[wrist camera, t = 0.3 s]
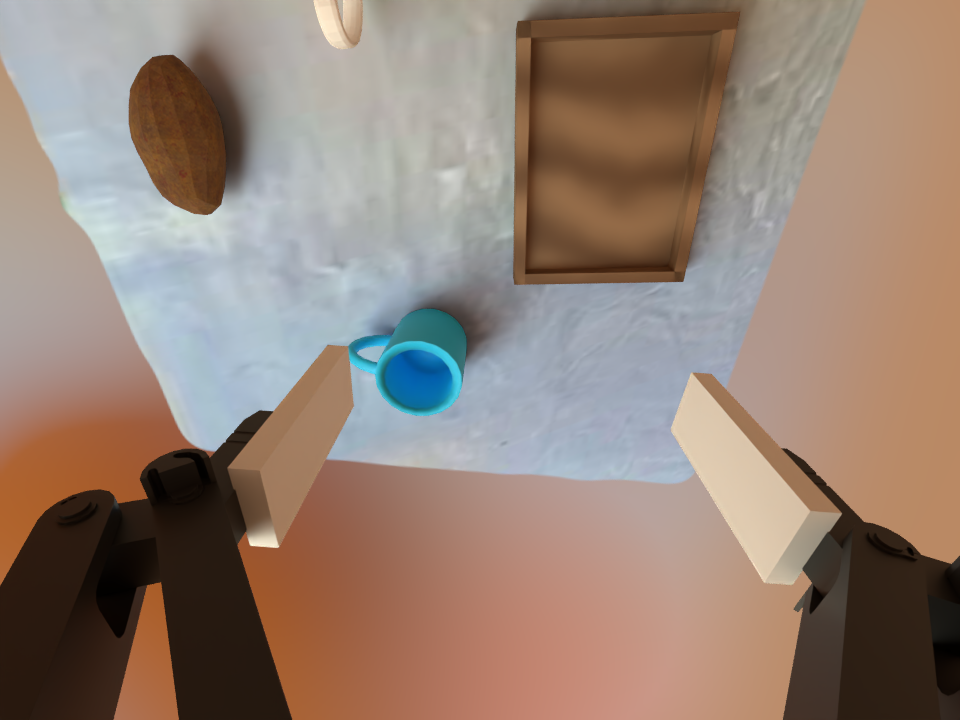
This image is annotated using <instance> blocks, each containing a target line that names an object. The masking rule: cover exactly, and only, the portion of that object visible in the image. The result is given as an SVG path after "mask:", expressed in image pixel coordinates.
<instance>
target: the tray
mask: <svg viewBox="0 0 960 720" xmlns="http://www.w3.org/2000/svg"><path fill="white" fill-rule="evenodd" d="M739 15H740V12H722V13H699V14H675V15H651V16H627V17H604V18H580V19H556V20H532V21H518V23H517V28H516V87H515V174H514V262H513V278H514V285H523V284H582V283H641V282H683V281H684V276H685V272H686V267H687V262H688V257H689V253H690V248H691V243H692V238H693V234H694V229H695V224H696V219H697V215H698V210H699V205H700V200H701V196H702V191H703V186H704V181H705V177H706V172H707V167H708V162H709V158H710V153H711V148H712V143H713V139H714V134H715V129H716V124H717V120H718V115H719V110H720V105H721V101H722V96H723V91H724V86H725V82H726V77H727V72H728V67H729V63H730V58H731V53H732V48H733V44H734V39H735V34H736V29H737V25H738V20H739Z"/></svg>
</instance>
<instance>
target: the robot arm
mask: <svg viewBox="0 0 960 720" xmlns="http://www.w3.org/2000/svg"><path fill="white" fill-rule="evenodd" d="M353 407H354V404H353V394H352V383H351V372H350V361H349V350H348V346H335V345H328V346H327V347H326V348H325V349H324V350H323V352H322V353H321V354H320V355H319V357H318V358H317V359H316V360H315V361H314V363H313V364H312V365H311V366H310V368H309V369H308V370H307V371H306V372H305V374H304V375H303V376H302V377H301V379H300V380H299V381H298V382H297V383H296V385H295V386H294V387H293V388H292V390H291V391H290V392H289V393H288V394H287V396H286V397H285V398H284V399H283V401H282V402H281V403H280V404H279V405H278V407H277V408H276V409H275V410H274V411H261V410H260V411H258V412H256V413H255V414H253V415H251V416H250V417H248V418H246V419H245V420H244V421H243V422H242V423H241V424H240V425H239V426H238V427H237V428H236V430H235V431H234V433H232V434H231V435H230V436H229V437H228V438H227V440H226V442H225V443H223V444H222V445H221V446H220V447H219V448H218V450H217V451H216V452H215V453H214V454H213V455H212V456H211V457H210V458H209V456H208V455H207V453H206V452H205V451H202V450H199V449H182V450H177V451H173V452H170V453H168V454H165V455H163V456H160V457H159V458H157V459H156V460H154V461H152V462H151V463H150V464H148V466H147V467H146V468H145V469H144V470H143V471H142V474H141V477H140V481H141V483H142V485H143V488H144V490H145V492H146V494H147V497H148V499H143V500H137V501H131V502H125V503H117V501H116V499H115V497H114V495H113V494H111V493H110V492H109V491H104V490H90V491H85V492H81V493H78V494H75V495H72V496H70V497H68V498H66V499H63V500H61V501H59V502H57V503H56V504H55V505H53V506H52V507H50V508H49V509H48V510H46V511H45V512H44V513H43V515H42V516H41V517H40V518H39V519H38V520H37V522H36V524H35V526H34V527H33V529H32V531H31V533H30V534H29V536H28V538H27V540H26V541H25V543H24V545H23V547H22V548H21V550H20V552H19V554H18V556H17V558H16V559H15V561H14V563H13V564H12V566H11V568H10V570H9V572H8V573H7V575H6V577H5V578H4V580H3V582H2V584H1V585H0V720H113V719H114V715H115V711H116V707H117V703H118V699H119V695H120V691H121V687H122V683H123V679H124V675H125V671H126V667H127V663H128V659H129V655H130V651H131V647H132V643H133V639H134V635H135V631H136V627H137V623H138V619H139V615H140V611H141V607H142V603H143V599H144V595H145V591H146V588H147V585H150V584H154V583H159V582H161V584H162V592H163V599H164V607H165V614H166V622H167V630H168V638H169V645H170V654H171V661H172V669H173V677H174V685H175V692H176V700H177V708H178V716H179V720H292V717H291V714H290V711H289V708H288V705H287V701H286V698H285V695H284V692H283V689H282V686H281V682H280V679H279V676H278V673H277V670H276V666H275V663H274V660H273V657H272V654H271V651H270V647H269V644H268V641H267V638H266V635H265V632H264V629H263V625H262V622H261V619H260V616H259V612H258V609H257V606H256V603H255V600H254V597H253V593H252V590H251V587H250V584H249V581H248V578H247V574H246V571H245V568H244V565H243V562H242V558H241V555H240V552H239V549H238V546H237V544H238V543H239V541H240V539H241V538H242V536H243V535H244V533H245V532H246V533H247V537H248V540H249V543H250V545H251V546H263V547H276V548H279V546H280V544H281V542H282V541H283V539H284V537H285V535H286V533H287V531H288V529H289V527H290V526H291V524H292V522H293V520H294V518H295V516H296V514H297V512H298V510H299V509H300V507H301V505H302V503H303V501H304V499H305V497H306V495H307V493H308V492H309V490H310V488H311V486H312V484H313V482H314V480H315V478H316V476H317V474H318V473H319V471H320V469H321V467H322V465H323V463H324V461H325V460H326V458H327V456H328V454H329V452H330V450H331V448H332V446H333V444H334V443H335V441H336V439H337V437H338V435H339V433H340V431H341V429H342V427H343V426H344V424H345V422H346V420H347V418H348V416H349V414H350V412H351V410H352V409H353ZM671 432H672V433H673V435H674V437H675V438H676V440H677V441H678V443H679V445H680V446H681V448H682V450H683V451H684V453H685V454H686V456H687V458H688V459H689V461H690V463H691V464H692V466H693V468H694V469H695V471H696V472H697V474H698V476H699V477H700V479H701V481H702V482H703V484H704V485H705V487H706V489H707V490H708V492H709V494H710V495H711V497H712V498H713V500H714V502H715V503H716V505H717V506H718V508H719V510H720V511H721V513H722V515H723V516H724V518H725V520H726V521H727V523H728V525H729V526H730V528H731V529H732V531H733V533H734V534H735V536H736V537H737V539H738V541H739V542H740V544H741V546H742V547H743V549H744V550H745V552H746V554H747V555H748V557H749V559H750V560H751V562H752V563H753V565H754V567H755V569H756V570H757V572H758V573H759V575H760V577H761V578H762V580H763V581H764V583H773V584H787V585H793V583H794V582H795V580H796V579H797V578H798V576H799V575H800V573H801V572H802V570H803V571H804V572H805V573H806V575H807V576H808V578H809V579H810V580H811V582H812V584H811V586H810V587H809V588H808V590H807V591H806V592H805V594H804V595H803V596H802V598H801V599H800V600H799V602H798V603H797V605H796V606H795V608H794V610H795V611H797V612H799V610H800V609H801V608H803V612H802V617H801V623H800V628H799V634H798V639H797V645H796V650H795V656H794V662H793V667H792V673H791V678H790V683H789V689H788V694H787V700H786V706H785V711H784V717H783V720H960V556H959V557H958V558H957V559H956V560H955V561H954V562H953V563H952V564H949V563H946V562H943V561H939V560H936V559H933V558H930V557H926V556H923V555H921V554H920V553H919V552H918V551H917V550H916V548H915V547H914V546H913V545H912V544H911V543H909V542H908V541H907V540H905V539H904V538H902V537H901V536H900V535H898V534H896V533H894V532H892V531H891V530H889V529H887V528H884V527H882V526H879V525H876V524H873V523H866V522H863V521H862V519H861V518H860V517H859V516H858V515H857V514H856V513H855V512H854V511H853V510H852V509H851V508H850V507H849V506H848V505H847V504H846V503H845V502H844V501H843V500H842V499H841V498H840V497H839V496H838V495H837V494H836V493H835V492H834V491H833V490H832V489H831V488H830V487H829V486H827V485H826V482H824V480H823V479H821V477H820V476H817V475H816V472H815V471H814V470H813V469H812V468H811V467H810V466H809V465H808V464H807V463H806V462H805V461H804V460H803V459H801V458H800V457H798V456H797V455H795V454H794V453H792V452H791V451H789V450H788V449H782V448H780V447H779V446H778V444H776V443H775V441H774V440H773V439H772V438H771V437H770V436H769V435H768V434H767V433H766V432H765V431H764V430H763V429H762V427H761V426H759V424H758V423H757V422H756V421H755V420H754V419H753V418H752V417H751V416H750V415H749V414H748V413H747V412H746V410H744V408H743V407H742V406H741V405H740V404H739V403H738V402H737V401H736V400H735V399H734V398H733V397H732V396H731V394H730V393H729V392H728V391H727V390H726V389H725V388H724V387H723V386H722V385H721V384H720V383H719V382H718V381H717V379H716V378H715V377H714V376H713V375H712V374H705V373H691V375H690V378H689V381H688V383H687V386H686V389H685V392H684V394H683V397H682V400H681V403H680V405H679V408H678V411H677V414H676V416H675V419H674V422H673V425H672V427H671Z"/></svg>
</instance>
